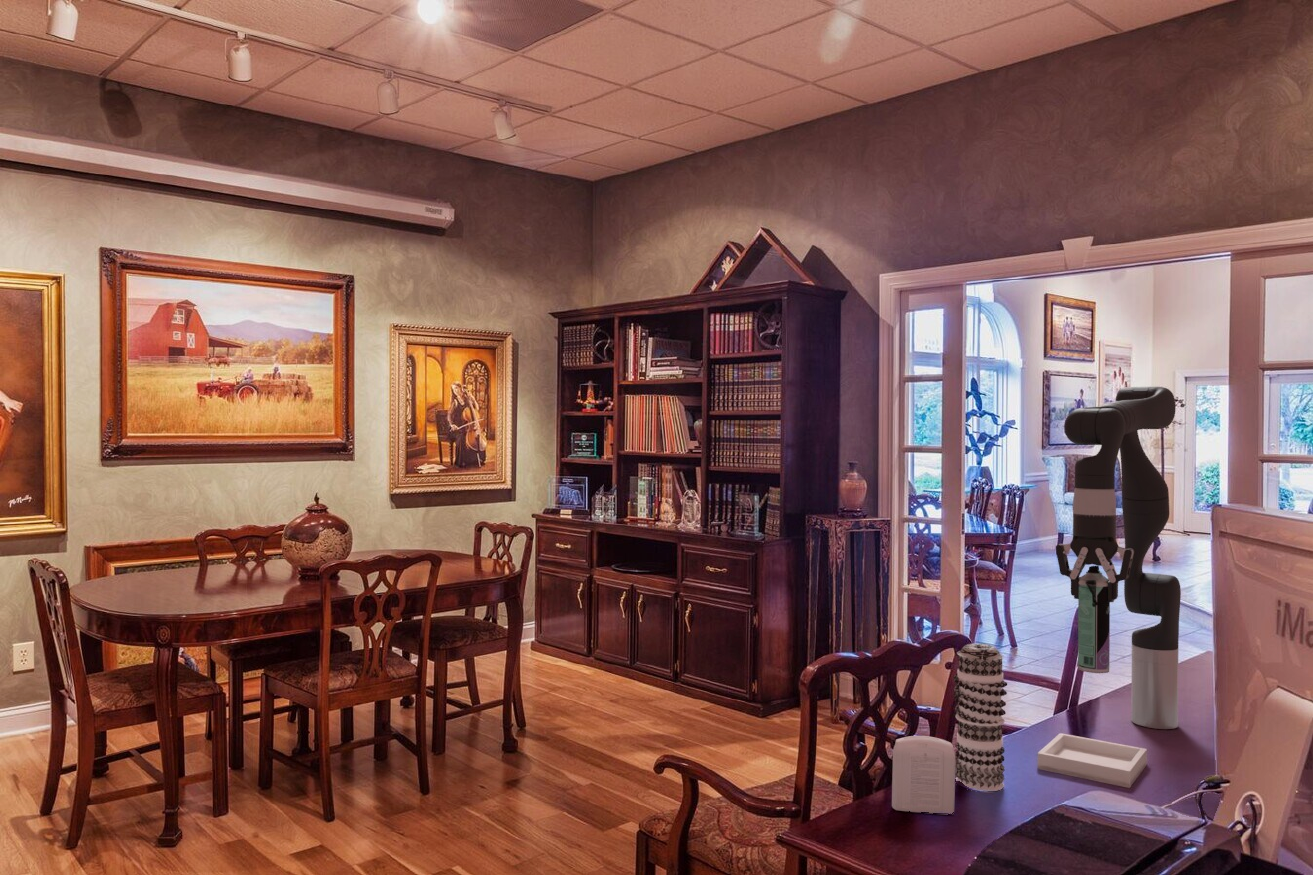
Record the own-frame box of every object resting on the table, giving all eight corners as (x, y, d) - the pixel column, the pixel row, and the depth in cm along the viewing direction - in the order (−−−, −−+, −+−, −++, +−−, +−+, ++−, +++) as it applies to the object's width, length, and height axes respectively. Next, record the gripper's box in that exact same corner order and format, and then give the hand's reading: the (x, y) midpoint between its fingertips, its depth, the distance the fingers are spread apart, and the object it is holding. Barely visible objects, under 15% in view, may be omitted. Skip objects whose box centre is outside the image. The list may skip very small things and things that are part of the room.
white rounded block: (952, 807, 161) (953, 734, 161) (956, 817, 157) (957, 742, 157) (890, 803, 163) (891, 731, 163) (893, 812, 159) (893, 738, 159)
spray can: (1112, 674, 179) (1113, 568, 179) (1081, 672, 180) (1082, 567, 180) (1105, 667, 184) (1105, 564, 184) (1075, 665, 186) (1075, 563, 186)
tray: (1060, 747, 193) (1060, 733, 193) (1146, 764, 184) (1147, 748, 184) (1037, 768, 181) (1037, 752, 181) (1129, 787, 171) (1129, 771, 171)
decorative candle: (980, 796, 166) (981, 653, 166) (942, 779, 174) (943, 643, 175) (1017, 788, 170) (1018, 648, 171) (978, 772, 179) (979, 639, 179)
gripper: (1139, 513, 181) (1139, 601, 181) (1060, 509, 190) (1059, 593, 190) (1131, 515, 175) (1130, 607, 175) (1049, 511, 184) (1049, 598, 184)
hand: (1093, 599), depth 182 cm, fingers closed on spray can, 5 cm apart
